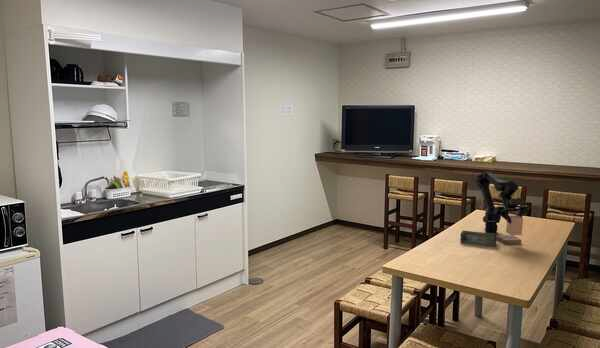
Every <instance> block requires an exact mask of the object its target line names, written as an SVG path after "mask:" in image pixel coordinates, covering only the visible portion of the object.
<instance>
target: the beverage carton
mask: <svg viewBox="0 0 600 348" xmlns="http://www.w3.org/2000/svg"><path fill="white" fill-rule="evenodd" d="M496 235H497V233H488V232H481V231H469V230H464V229H463V230H462V231H461V232H460V240H459V241H460V243H462V244H469V245H477V246H484V247H485V246H486V247H493V248H494V247H496V245H497V240H496Z"/></svg>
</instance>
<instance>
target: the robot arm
mask: <svg viewBox="0 0 600 348" xmlns="http://www.w3.org/2000/svg"><path fill="white" fill-rule="evenodd" d="M474 181H475V184H476V186H477V187H478V188H479V189H480V192H481V194H482V198H483V200H484V201H483V202H484V205H485V208H486V210H485V211H484V216H483V218H482V221H483V222H484V223H485V226H484V233H493V234H497V232H498V224H500V220H501V218H503V219H504V220H505V221H506V222H507V221H508V222H509V223H510V224H511V220H510V217H509V215H510V214H509V213H514V212H515V213H516V215H518V216H520V217H522V218H523V215H526V214H527V213H528V212H529V210H530V207H529V206H528V205H521V204H523V203H524V201H523V198H522V197H517V198H513V197H512V196H514V194H515V193H516V192H517V191H518V190H519V185H517V183H515V182H514V181H513V180H512V181H511V180H509V181H508V180H503V179H500V178H499V177H498V176H497V175H495V174H494V173H493V172H492V171H484V172H483V173H480V174H479V175H476V177H475V178H474ZM490 184H492V185H493V186H494V189H495V190H496V192H500V193H499V195H498V198H500V199H501V201H502V203H501V205H498V206H496V207H495V204H494V203H495V202H494V201H493V197H492V194H491V190H490ZM519 205H520V206H519Z"/></svg>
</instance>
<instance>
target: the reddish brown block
mask: <svg viewBox="0 0 600 348" xmlns="http://www.w3.org/2000/svg"><path fill="white" fill-rule="evenodd" d="M509 217H510V220H511V224H510V223H509V222H508V221H507V220H506V229H505V232H506V233H507V234H508V235H513V236H522V235H523V225H524V224H523V222H524V217H523V216H522V217H520V216H518V215H517V214H516V215H511V214H509Z"/></svg>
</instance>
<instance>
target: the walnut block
mask: <svg viewBox="0 0 600 348" xmlns="http://www.w3.org/2000/svg"><path fill="white" fill-rule="evenodd" d="M496 241H498V242H499V243H502V244H503V245H522V238H519V237H517V236H516V235H510V234H498V235H497V234H496Z"/></svg>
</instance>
